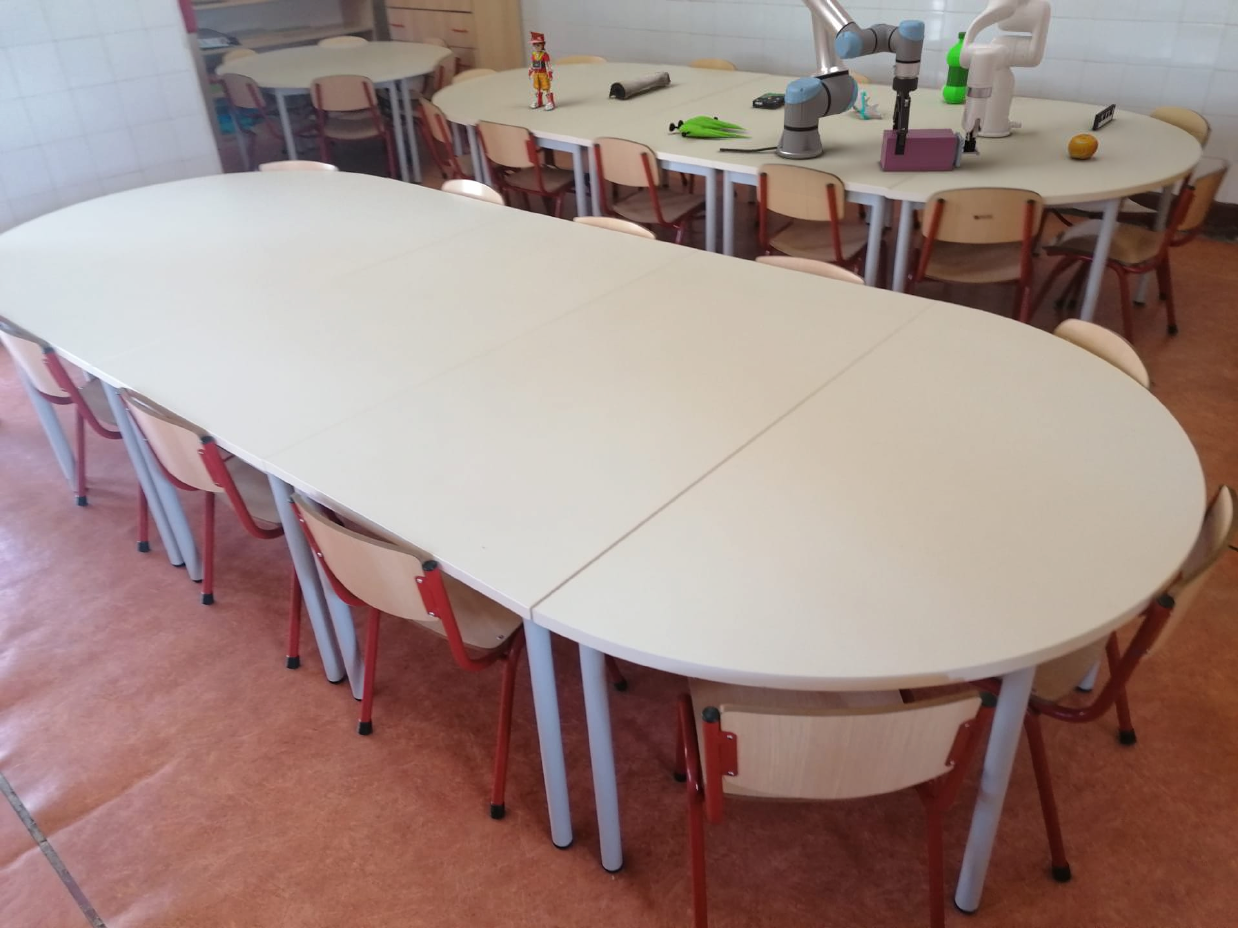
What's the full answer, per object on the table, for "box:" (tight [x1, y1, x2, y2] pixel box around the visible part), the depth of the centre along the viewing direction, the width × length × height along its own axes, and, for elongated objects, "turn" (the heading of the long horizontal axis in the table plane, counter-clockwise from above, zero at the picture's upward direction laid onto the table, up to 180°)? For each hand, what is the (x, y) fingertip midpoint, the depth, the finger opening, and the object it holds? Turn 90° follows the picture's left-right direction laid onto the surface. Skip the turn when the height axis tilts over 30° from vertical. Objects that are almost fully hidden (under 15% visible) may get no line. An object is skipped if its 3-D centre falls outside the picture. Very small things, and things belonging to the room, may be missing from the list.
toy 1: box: [527, 31, 556, 111], centre depth 374 cm, size 12×9×30 cm
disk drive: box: [752, 92, 786, 110], centre depth 366 cm, size 10×3×15 cm
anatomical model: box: [852, 88, 884, 120], centre depth 343 cm, size 15×10×10 cm
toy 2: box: [668, 115, 748, 138], centre depth 334 cm, size 28×5×30 cm
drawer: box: [953, 131, 981, 167], centre depth 288 cm, size 26×9×8 cm, turn 83°
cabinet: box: [879, 128, 957, 172], centre depth 288 cm, size 21×10×10 cm, turn 83°
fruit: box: [1067, 133, 1099, 160], centre depth 287 cm, size 8×8×8 cm
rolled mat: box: [608, 71, 672, 101], centre depth 395 cm, size 30×9×10 cm
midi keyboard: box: [1091, 103, 1117, 131], centre depth 317 cm, size 18×1×5 cm, turn 138°
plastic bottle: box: [942, 31, 970, 104], centre depth 348 cm, size 10×10×25 cm
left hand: (897, 149), depth 289 cm, fingers closed on cabinet, 10 cm apart
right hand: (968, 153), depth 287 cm, fingers closed
